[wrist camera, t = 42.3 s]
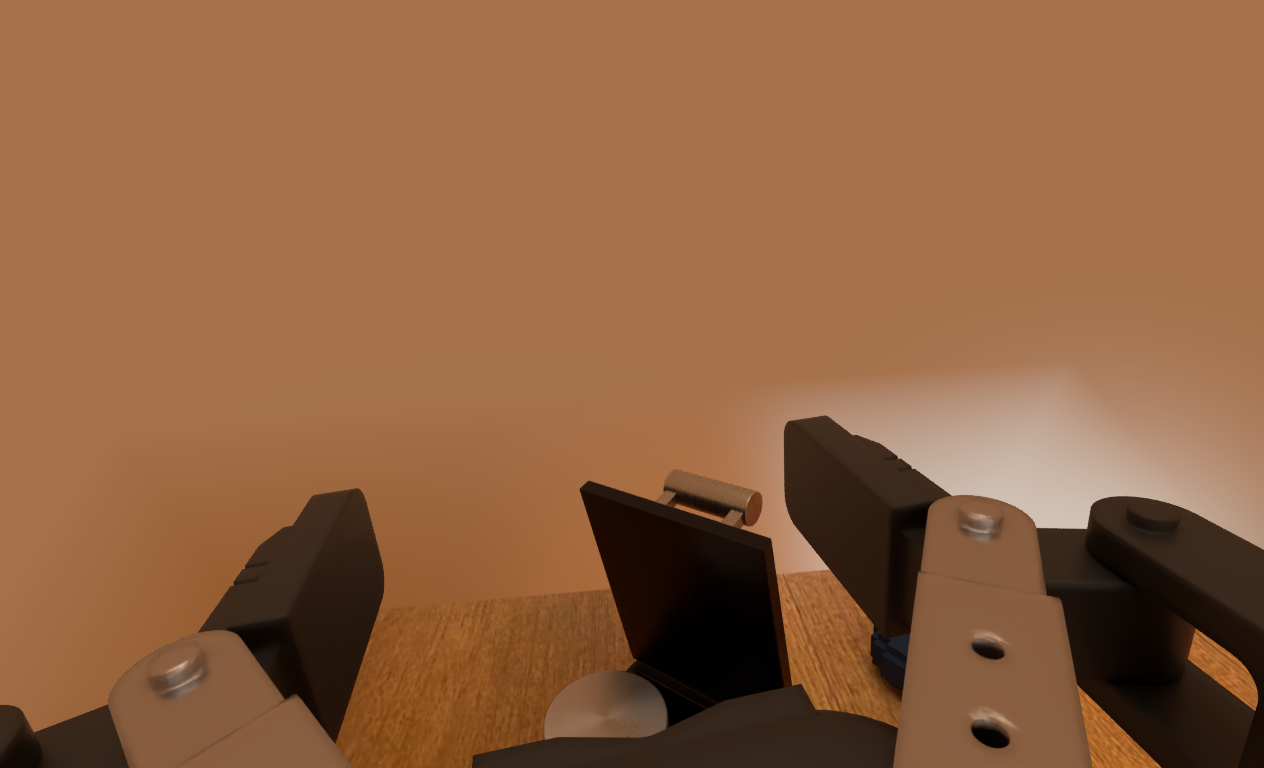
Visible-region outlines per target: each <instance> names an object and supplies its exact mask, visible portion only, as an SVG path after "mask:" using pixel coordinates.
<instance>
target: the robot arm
mask: <svg viewBox="0 0 1264 768" xmlns="http://www.w3.org/2000/svg"><path fill="white" fill-rule="evenodd" d="M784 481H785V482H784V486H785V501H786V506H787V509H788V513H789V515H790V518H791V520H792V522H793V524H794V525H795V526H796V528H797V529H798V530H799V531H800V532H801V534H802V535H803V536H804V538H805V539H806V540H807V541H808V543H809V544H810V545H811V546H812V548H813V549H814V550H815V551H816V553H817V554H818V555H819V556H820V558H821V559H822V560H823V561H824V563H825V564H826V565H827V566H828V567H829V569H830V570H831V571H832V573H833V574H834V575H835V576H836V578H837V579H838V580H839V581H840V583H841V584H842V585H843V586H844V588H845V589H846V590H847V591H848V593H849V594H850V595H851V596H852V598H853V599H854V600H855V601H856V603H857V604H858V605H859V606H860V608H861V609H862V610H863V611H864V613H865V614H866V615H867V616H868V618H869V619H870V620H871V621H872V623H873V624H874V625H875V626H876V628H877V629H878V630H879V631H880V633H881V634H882V635H883V636H884V638H885V639H886V638H891V637H895V636H900V635H905V634H910V641H909V648H908V656H907V664H906V671H905V679H904V687H903V694H902V702H901V710H900V718H899V725H898V728H896V727H894V726H892V725H889V724H887V723H884V722H881V721H878V720H875V719H872V718H868V717H865V716H861V715H856V714H851V713H847V712H839V711H831V710H815V708H814V706H813V704H812V702H811V701H810V699H809V697H808V695H807V694H806V692H805V690H804V688H803V686H802V685H801V684H798V685H794V686H789V687H785V688H780V689H776V690H771V691H766V692H762V693H757V694H753V695H748V696H743V697H739V698H734V699H730V700H725V701H723V702H721V703H719V704H717V705H714V706H712V707H710V708H708V709H706V710H704V711H702V712H700V713H698V714H696V715H694V716H692V717H689V718H687V719H685V720H683V721H681V722H679V723H677V724H675V725H673V726H671V727H669V728H666V729H664V730H662V731H660V732H658V733H656V734H653V735H651V736H647V737H639V738H631V737H555V738H551V739H546V740H542V741H537V742H532V743H528V744H523V745H519V746H514V747H510V748H505V749H500V750H496V751H491V752H487V753H482V754H477V755H473V762H472V768H1092V763H1091V757H1090V752H1089V747H1088V741H1087V736H1086V730H1085V725H1084V720H1083V714H1082V709H1081V703H1080V698H1079V693H1078V687H1077V685H1078V686H1079V687H1080V688H1081V689H1082V690H1083V691H1084V692H1085V693H1086V694H1087V695H1088V696H1089V697H1090V698H1092V699H1093V700H1094V701H1095V702H1096V703H1097V704H1098V705H1099V706H1100V707H1101V708H1102V709H1103V710H1104V711H1105V712H1106V713H1107V714H1108V715H1109V716H1110V717H1111V718H1112V719H1113V720H1114V721H1115V722H1116V723H1117V724H1118V725H1119V726H1120V727H1121V728H1122V729H1123V730H1124V731H1125V732H1126V733H1127V734H1128V735H1129V736H1130V737H1131V738H1132V739H1133V740H1134V741H1135V742H1136V743H1137V744H1138V745H1139V746H1140V747H1141V748H1142V749H1143V750H1145V751H1146V752H1147V753H1148V754H1149V755H1150V756H1151V757H1152V758H1153V759H1154V760H1155V761H1156V762H1157V763H1158V764H1159V765H1160V766H1161V767H1162V768H1264V550H1263V549H1261V548H1259V547H1257V546H1255V545H1254V544H1252V543H1250V542H1248V541H1246V540H1244V539H1242V538H1240V537H1238V536H1237V535H1235V534H1233V533H1231V532H1229V531H1227V530H1225V529H1223V528H1221V527H1219V526H1218V525H1216V524H1214V523H1212V522H1210V521H1208V520H1206V519H1205V518H1203V517H1201V516H1199V515H1197V514H1195V513H1193V512H1191V511H1189V510H1186V509H1184V508H1181V507H1179V506H1175V505H1172V504H1169V503H1165V502H1162V501H1158V500H1152V499H1148V498H1140V497H1128V496H1117V497H1108V498H1104V499H1101V500H1098V501H1096V502H1095V503H1093V505H1092V506H1091V510H1090V516H1089V522H1088V527H1087V529H1057V528H1036V526H1035V523H1034V521H1033V520H1032V519H1031V518H1030V517H1029V516H1028V515H1027V514H1026V513H1024V512H1023V511H1022V510H1020V509H1018V508H1016V507H1015V506H1012V505H1010V504H1008V503H1005V502H1002V501H999V500H996V499H991V498H987V497H981V496H972V495H958V496H951V495H950V494H949V493H947V492H946V491H944V490H943V489H942V488H940V487H939V486H938V485H936V484H935V483H934V482H932V481H931V480H929V479H928V478H927V477H925V476H924V475H923V474H921V473H920V472H918V471H917V470H916V469H912V468H911V466H910V465H909V464H907V463H906V462H905V461H903V460H902V459H898V457H897V456H896V455H895V454H894V453H892V452H891V451H889V450H888V449H887V448H886V447H884V446H883V445H881V444H880V443H877V442H874V441H871V440H869V439H866V438H863V437H861V436H858V435H851V434H850V433H849V432H848V431H846V430H845V429H844V428H842V427H841V426H840V425H838V424H837V423H836V422H834V421H833V420H832V419H831V418H829V417H828V416H819V417H812V418H807V419H800V420H793V421H789V422H787V424H786V426H785V430H784ZM383 593H384V571H383V564H382V560H381V556H380V553H379V549H378V545H377V541H376V537H375V533H374V530H373V526H372V522H371V518H370V514H369V511H368V507H367V503H366V500H365V497H364V495H363V493H362V491H361V490H360V489H358V488H356V489H350V490H343V491H337V492H331V493H325V494H318V495H314V496H312V497H311V499H310V500H309V502H308V503H307V505H306V506H305V508H304V509H303V511H302V512H301V514H300V515H299V517H298V519H297V520H296V522H295V523H294V525H293V526H289V527H284V528H282V529H281V530H280V531H278V532H277V533H276V534H274V535H273V536H272V537H270V538H269V539H268V540H266V541H265V542H264V543H262V544H261V545H260V546H259V547H258V548H257V550H256V551H255V553H254V554H253V555H252V557H251V558H250V560H249V561H248V562H247V564H246V565H245V569H243V570H242V571H241V572H240V574H239V575H238V577H237V578H236V579H235V581H234V586H231V587H230V588H229V589H228V591H227V592H226V594H225V595H224V596H223V598H222V599H221V601H220V602H219V604H218V605H217V606H216V608H215V609H214V611H213V612H212V613H211V615H210V616H209V618H208V619H207V621H206V622H205V623H204V625H203V626H202V628H201V629H200V630H199V632H198V633H197V634H193V635H189V636H186V637H183V638H181V639H178V640H176V641H173V642H171V643H169V644H167V645H165V646H163V647H161V648H159V649H157V650H155V651H154V652H152V653H151V654H149V655H147V656H146V657H144V658H143V659H141V660H140V661H139V662H137V663H136V664H134V665H133V666H132V667H131V668H130V669H129V670H127V671H126V672H125V673H124V674H123V676H121V678H120V679H119V680H118V681H117V682H116V684H115V685H114V686H113V688H112V690H111V692H110V694H109V698H108V705H106V706H103V707H101V708H98V709H95V710H93V711H90V712H87V713H85V714H82V715H80V716H77V717H74V718H72V719H69V720H66V721H64V722H61V723H58V724H56V725H53V726H50V727H48V728H45V729H42V730H40V731H37V732H33V730H32V729H31V727H30V725H29V723H28V721H27V719H26V717H25V715H24V714H23V712H22V711H21V710H20V709H19V708H17V707H15V706H10V705H0V768H353V767H352V766H351V765H350V763H349V762H348V761H347V759H346V758H345V757H344V755H343V754H342V753H341V751H340V750H339V749H338V747H337V746H336V745H335V744H336V741H337V737H338V734H339V731H340V728H341V725H342V722H343V719H344V716H345V713H346V710H347V707H348V703H349V700H350V697H351V694H352V691H353V688H354V685H355V682H356V679H357V676H358V672H359V669H360V666H361V663H362V660H363V657H364V654H365V651H366V648H367V645H368V642H369V638H370V635H371V632H372V629H373V626H374V623H375V620H376V617H377V614H378V611H379V608H380V604H381V601H382V598H383ZM1195 628H1196V629H1198V630H1199V631H1200V632H1202V633H1203V634H1205V635H1206V636H1207V637H1209V638H1210V639H1212V640H1213V641H1214V642H1216V643H1217V644H1219V645H1220V646H1221V647H1223V648H1224V649H1226V650H1227V651H1228V652H1230V653H1231V654H1233V655H1234V656H1235V657H1236V658H1237V659H1238V660H1239V661H1241V662H1242V664H1243V665H1244V666H1245V667H1246V668H1247V670H1248V671H1249V673H1250V674H1251V676H1252V678H1253V680H1254V681H1255V684H1256V687H1257V691H1258V704H1257V707H1256V711H1254V710H1253V709H1252V708H1250V707H1249V706H1248V705H1246V704H1245V703H1244V702H1243V701H1241V700H1240V699H1239V698H1237V697H1236V696H1235V695H1233V694H1232V693H1231V692H1230V691H1228V690H1227V689H1226V688H1224V687H1223V686H1222V685H1220V684H1219V683H1218V682H1217V681H1215V680H1214V679H1213V678H1211V677H1210V676H1209V675H1207V674H1206V673H1205V672H1204V671H1202V670H1201V669H1200V668H1198V667H1197V666H1196V665H1194V664H1193V663H1192V662H1191V661H1189V660H1188V656H1189V652H1190V648H1191V644H1192V640H1193V636H1194V632H1195Z"/></svg>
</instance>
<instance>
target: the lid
mask: <svg viewBox="0 0 1264 768" xmlns="http://www.w3.org/2000/svg"><path fill="white" fill-rule="evenodd" d="M580 492H581V496H582V499H583V502H584V505H585V508H586V512H587V515H588V518H589V521H590V524H591V527H592V530H593V534H594V536H595V540H596V543H597V546H598V549H599V552H600V555H601V559H602V562H603V565H604V568H605V571H606V574H607V578H608V581H609V584H610V587H611V590H612V593H613V597H614V600H615V603H616V606H617V609H618V612H619V615H620V619H621V622H622V625H623V628H624V631H625V634H626V637H627V641H628V644H629V647H630V650H631V653H632V656H633V658H634V659H636V660H638V661H640V662H642V663H644V664H646V665H648V666H650V667H651V668H653V669H655V670H657V671H659V672H661V673H663V674H665V675H667V676H669V677H670V678H672V679H674V680H676V681H678V682H680V683H682V684H684V685H686V686H688V687H690V688H691V689H693V690H695V691H697V692H699V693H701V694H703V695H705V696H707V697H709V698H710V699H712V700H714V701H716V702H718V703H721V702H723V701H725V700H730V699H734V698H739V697H743V696H748V695H753V694H757V693H762V692H766V691H771V690H776V689H780V688H785V687H789V686H792V681H791V674H790V667H789V660H788V653H787V646H786V639H785V632H784V625H783V618H782V611H781V604H780V597H779V590H778V583H777V576H776V570H775V562H774V556H773V548H772V541H771V539H770V538H768V537H765V536H762V535H758V534H755V533H752V532H749V531H746V530H742V529H740V528H741V527H742V526H743V525H746V526H753V525H754V524H755V523H756V522H757V520H758V518H759V516H760V513H761V509H762V496H761V494H760V493H759V492H758V491H754V490H751V489H747V488H743V487H740V486H736V485H733V484H729V483H725V482H721V481H718V480H714V479H710V478H707V477H703V476H699V475H695V474H691V473H688V472H685V471H681V470H677V469H676V470H673V471H671V472H670V473H669V475H668V476H667V478H666V480H665V483H664V493H663V494H662V495H661V496H660V497H659V498H658V499H657V500H656V501H655V502H654V501H651V500H648V499H645V498H642V497H638V496H636V495H633V494H629V493H626V492H623V491H620V490H617V489H614V488H611V487H607V486H604V485H601V484H598V483H594V482H592V481H588V482H587V483H585V484H584V485H583V486H582V487H581V488H580ZM677 504H679V505H682V506H685V507H689V508H692V509H695V510H698V511H701V512H704V513H708V514H711V515H714V516H717V517H720V518H724V519H723V520H722V522H718V521H714V520H711V519H708V518H705V517H702V516H698V515H695V514H692V513H689V512H686V511H683V510H680V509H677V508H674V507H675V506H676V505H677Z"/></svg>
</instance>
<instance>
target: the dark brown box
mask: <svg viewBox="0 0 1264 768" xmlns="http://www.w3.org/2000/svg"><path fill="white" fill-rule="evenodd" d="M626 672H630V673H633V674H636V675H639V676H641V677H643V678H645V679H646V680H648V681H650V682H651V683H652V684H653V685H654V686H655V687H656V688H657V689H658V690H659V691H660V693H661V694H662V696H663V698H664V700H665V702H666V705H667V709H668V717H669V727H671V726H673V725H675V724H677V723H679V722H681V721H683V720H685V719H687V718H689V717H692V716H694V715H696V714H698V713H700V712H702V711H704V710H706V709H708V708H710V707H712V706H714V705H717V704H719V703H718V702H716V701H714V700H712V699H710V698H709V697H707V696H705V695H703V694H701V693H699V692H697V691H695V690H693V689H691V688H690V687H688V686H686V685H684V684H682V683H680V682H678V681H676V680H674V679H672V678H670V677H669V676H667V675H665V674H663V673H661V672H659V671H657V670H655V669H653V668H651V667H650V666H648V665H646V664H644V663H642V662H640V661H638V660H636V661H635V662H634V663H633V664H632V665H631V666H630V667H629V668H628V669H627V670H626Z"/></svg>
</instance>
